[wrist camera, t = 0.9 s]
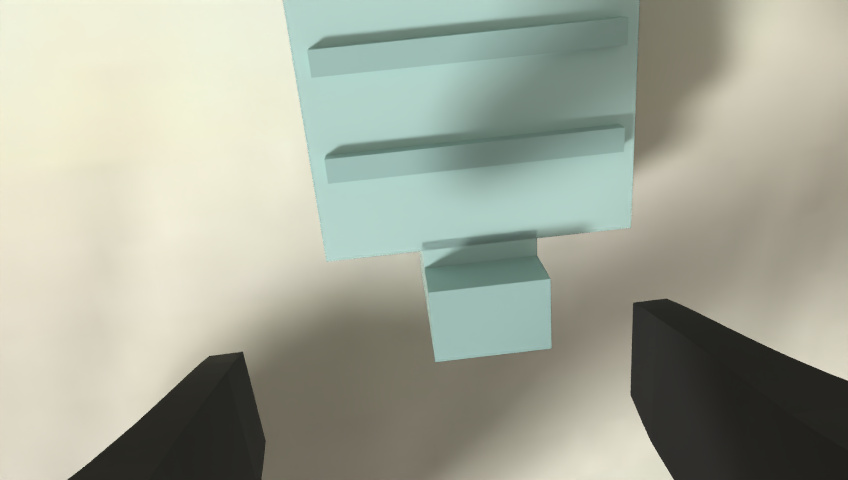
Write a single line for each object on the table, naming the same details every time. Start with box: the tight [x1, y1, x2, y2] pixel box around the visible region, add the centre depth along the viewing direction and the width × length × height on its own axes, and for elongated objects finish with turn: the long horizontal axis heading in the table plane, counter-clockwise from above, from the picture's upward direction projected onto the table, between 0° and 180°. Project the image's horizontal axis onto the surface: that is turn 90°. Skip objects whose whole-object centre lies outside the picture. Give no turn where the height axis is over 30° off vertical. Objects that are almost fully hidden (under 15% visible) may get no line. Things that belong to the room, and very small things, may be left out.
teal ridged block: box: [283, 0, 640, 362], centre depth 16 cm, size 12×8×6 cm, turn 5°
